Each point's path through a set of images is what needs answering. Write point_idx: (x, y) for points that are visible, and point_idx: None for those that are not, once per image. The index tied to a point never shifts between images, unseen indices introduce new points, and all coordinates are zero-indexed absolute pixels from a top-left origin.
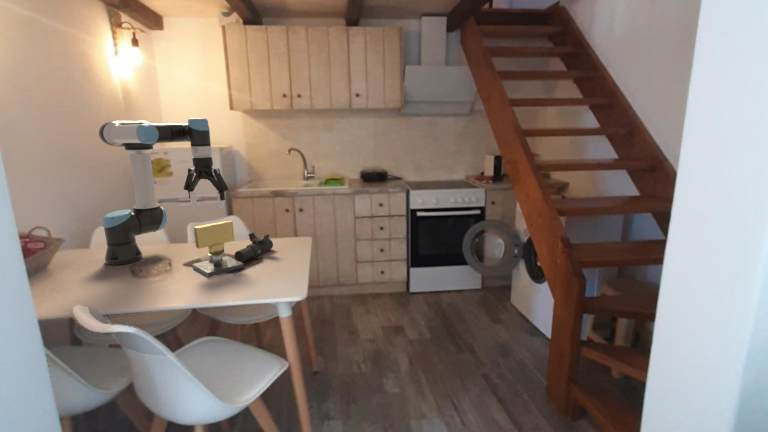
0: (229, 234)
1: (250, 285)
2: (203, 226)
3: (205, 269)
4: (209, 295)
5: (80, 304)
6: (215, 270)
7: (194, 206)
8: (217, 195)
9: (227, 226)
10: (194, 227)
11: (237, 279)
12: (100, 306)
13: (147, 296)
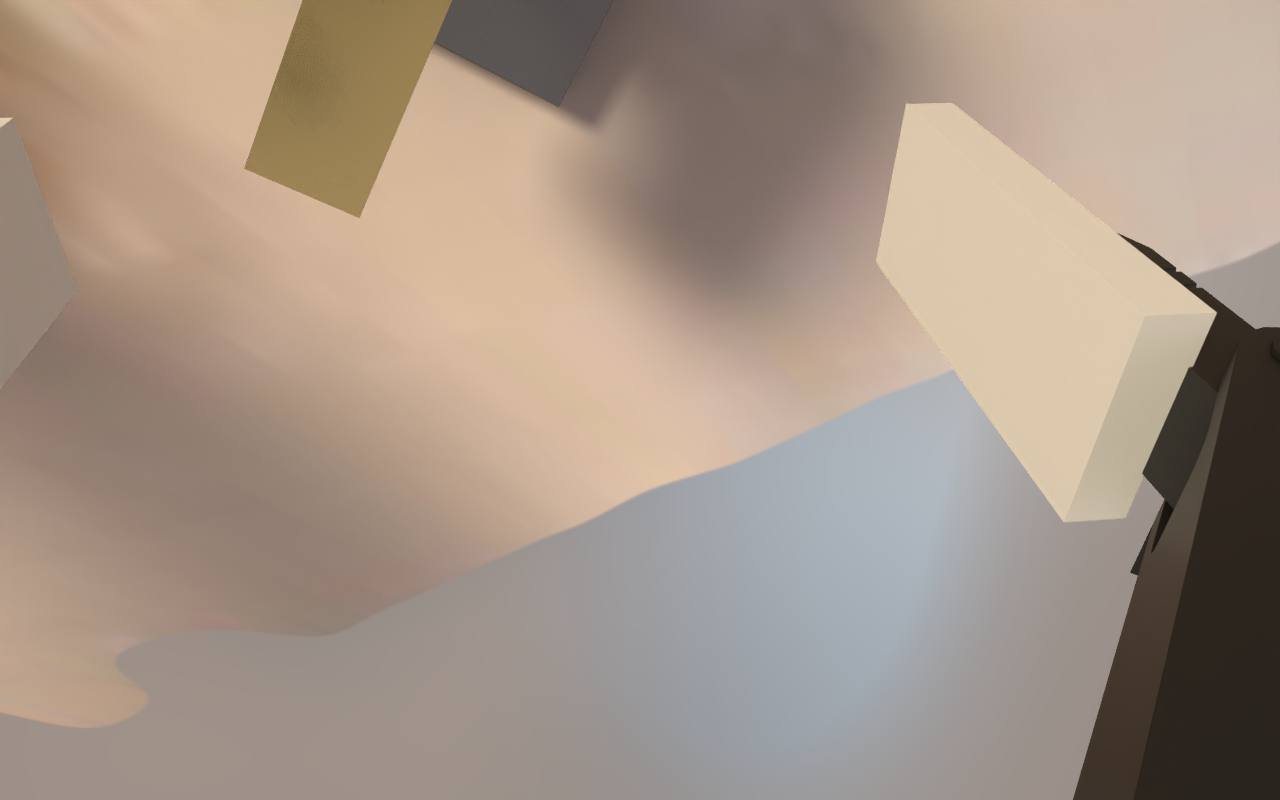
0: None
1: None
2: (386, 94)
3: (464, 28)
4: (789, 364)
5: (137, 639)
6: (586, 26)
7: (52, 233)
8: (1028, 468)
9: None
10: (275, 180)
11: (843, 62)
12: (276, 622)
13: (404, 478)
